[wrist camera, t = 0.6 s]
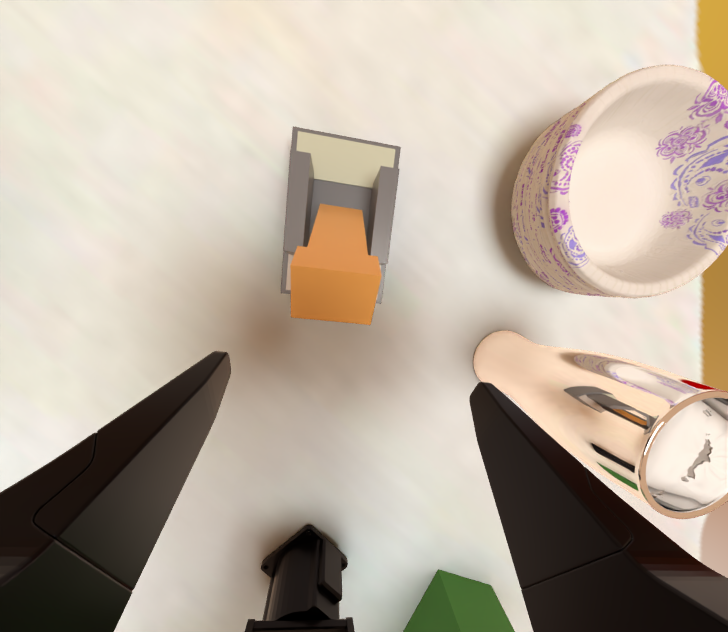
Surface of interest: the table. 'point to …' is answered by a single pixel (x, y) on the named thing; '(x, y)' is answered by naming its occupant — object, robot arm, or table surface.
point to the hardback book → (458, 607)
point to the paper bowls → (628, 187)
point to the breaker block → (339, 190)
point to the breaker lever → (335, 270)
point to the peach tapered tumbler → (620, 419)
